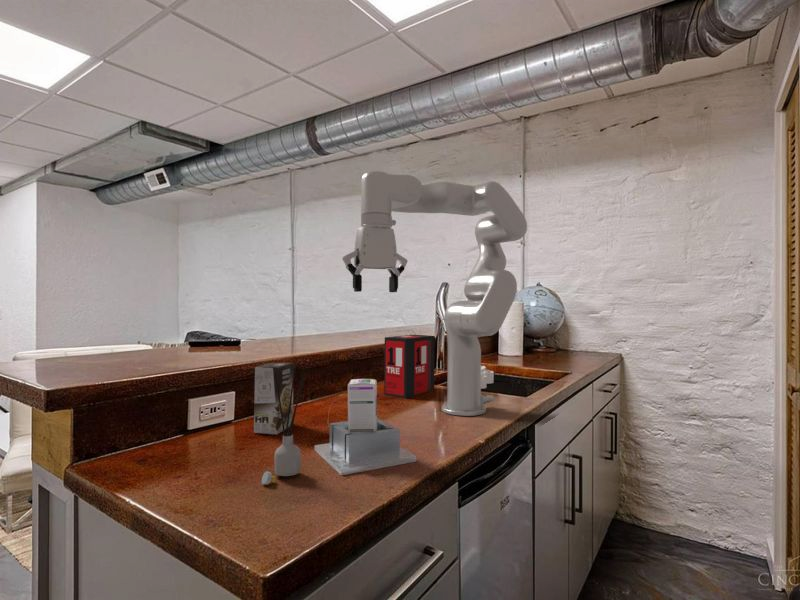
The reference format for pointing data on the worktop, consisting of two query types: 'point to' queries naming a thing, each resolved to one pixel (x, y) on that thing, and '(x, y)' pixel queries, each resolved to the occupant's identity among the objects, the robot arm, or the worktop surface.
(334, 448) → the square socket
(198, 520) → the worktop surface
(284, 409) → the coffee box
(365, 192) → the robot arm
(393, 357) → the cleaning product box
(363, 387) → the syrup box
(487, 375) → the skeletal toy car
